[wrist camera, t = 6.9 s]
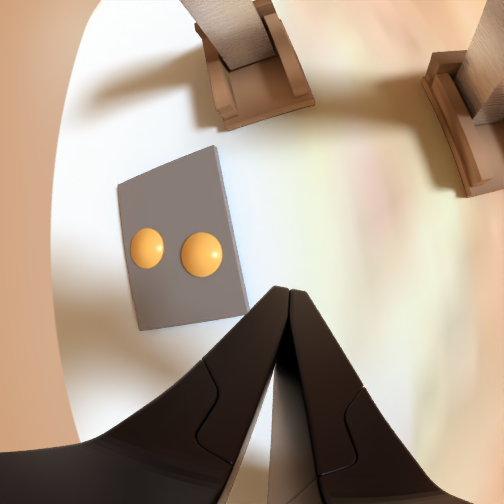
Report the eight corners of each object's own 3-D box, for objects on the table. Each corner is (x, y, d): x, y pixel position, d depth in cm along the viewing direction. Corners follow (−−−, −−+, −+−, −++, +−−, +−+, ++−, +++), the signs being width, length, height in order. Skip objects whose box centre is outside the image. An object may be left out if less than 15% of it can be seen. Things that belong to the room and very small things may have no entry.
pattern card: (250, 313, 21) (246, 314, 20) (144, 329, 23) (137, 331, 22) (216, 147, 22) (211, 143, 21) (122, 186, 24) (115, 184, 24)
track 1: (315, 104, 20) (307, 75, 16) (228, 131, 22) (207, 108, 18) (282, 24, 21) (271, -5, 17) (210, 49, 23) (191, 24, 19)
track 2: (533, 181, 15) (559, 168, 11) (467, 197, 17) (489, 183, 13) (487, 75, 16) (502, 49, 12) (421, 82, 18) (430, 53, 14)
